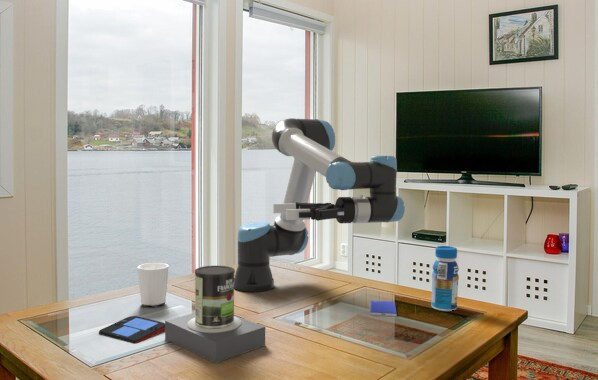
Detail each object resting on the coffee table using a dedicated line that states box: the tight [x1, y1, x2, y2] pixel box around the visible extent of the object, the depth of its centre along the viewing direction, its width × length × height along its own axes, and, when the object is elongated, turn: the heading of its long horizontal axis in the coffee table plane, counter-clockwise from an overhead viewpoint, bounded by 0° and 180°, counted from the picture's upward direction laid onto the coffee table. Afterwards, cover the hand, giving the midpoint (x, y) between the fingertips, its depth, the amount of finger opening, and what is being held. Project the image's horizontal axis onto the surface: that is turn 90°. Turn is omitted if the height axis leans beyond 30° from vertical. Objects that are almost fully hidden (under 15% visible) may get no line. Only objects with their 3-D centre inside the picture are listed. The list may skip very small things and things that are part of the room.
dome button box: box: [164, 312, 266, 364], centre depth 138 cm, size 22×16×6 cm
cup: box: [136, 262, 170, 308], centre depth 169 cm, size 10×10×13 cm
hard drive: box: [369, 299, 398, 317], centre depth 169 cm, size 2×8×12 cm
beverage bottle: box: [430, 245, 460, 312], centre depth 170 cm, size 8×8×20 cm
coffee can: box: [194, 265, 236, 329], centre depth 137 cm, size 10×10×14 cm
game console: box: [98, 315, 165, 344], centre depth 145 cm, size 14×13×2 cm
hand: (279, 211), depth 143 cm, fingers open, 13 cm apart
